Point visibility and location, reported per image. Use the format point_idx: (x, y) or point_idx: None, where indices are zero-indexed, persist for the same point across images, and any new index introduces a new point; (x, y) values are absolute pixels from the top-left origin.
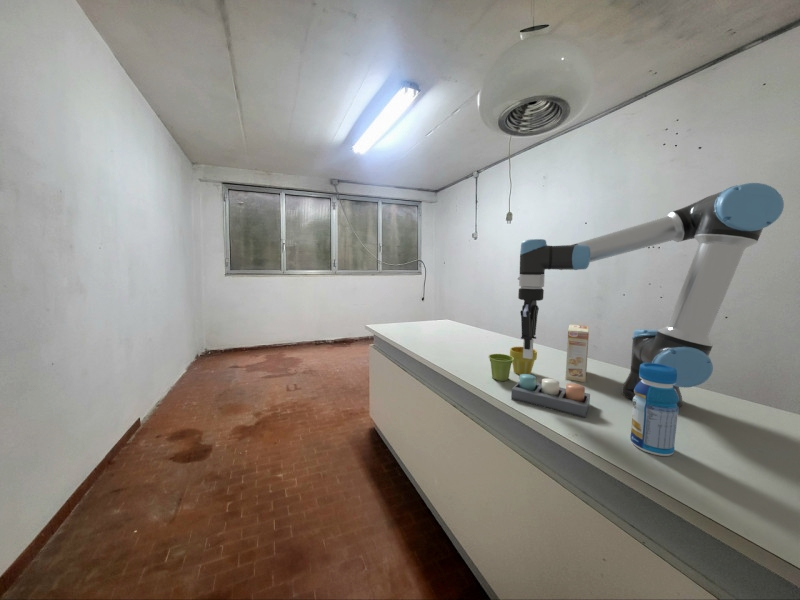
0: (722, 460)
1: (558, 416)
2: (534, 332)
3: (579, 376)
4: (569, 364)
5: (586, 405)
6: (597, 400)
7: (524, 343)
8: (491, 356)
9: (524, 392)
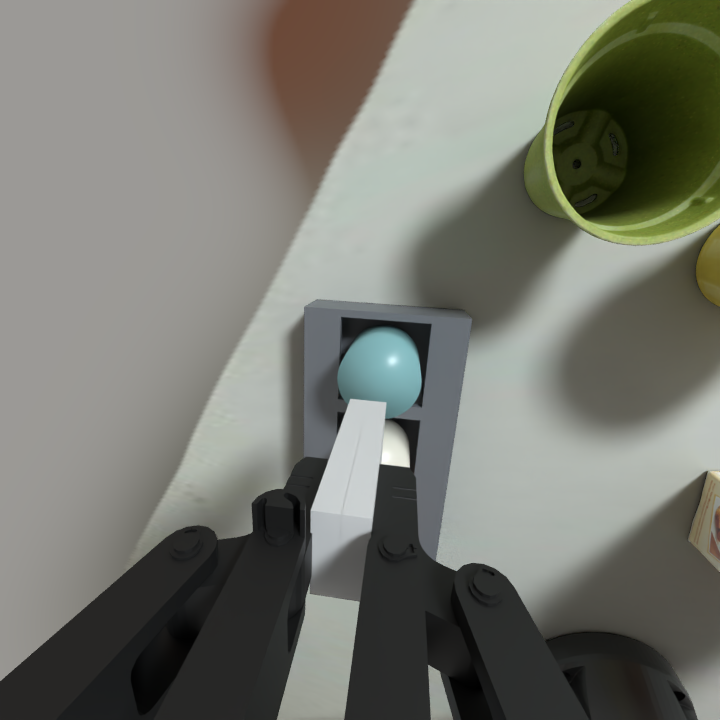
0: (282, 701)
1: (277, 460)
2: (449, 697)
3: (710, 539)
4: None
5: None
6: (484, 560)
7: (322, 481)
8: (714, 4)
9: (304, 363)
